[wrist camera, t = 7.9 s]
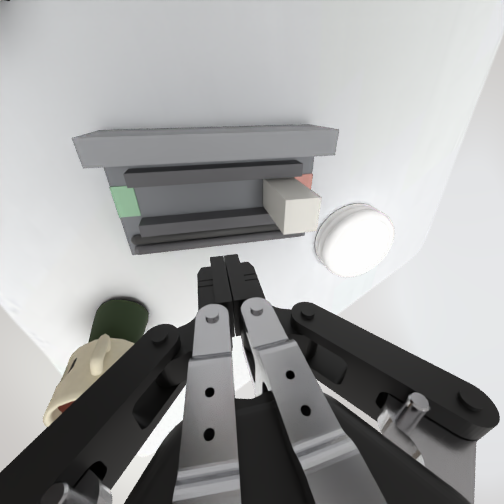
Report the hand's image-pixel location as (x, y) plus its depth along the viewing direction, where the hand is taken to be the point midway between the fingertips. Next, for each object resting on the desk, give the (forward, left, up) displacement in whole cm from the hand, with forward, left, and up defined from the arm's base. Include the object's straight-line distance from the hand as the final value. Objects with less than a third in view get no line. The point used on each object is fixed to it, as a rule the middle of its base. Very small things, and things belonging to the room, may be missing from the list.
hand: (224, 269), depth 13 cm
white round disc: (+8, +19, -16) cm, 26 cm away
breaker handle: (0, +7, -13) cm, 15 cm away
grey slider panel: (0, +1, -15) cm, 15 cm away
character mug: (+16, -13, -16) cm, 26 cm away
